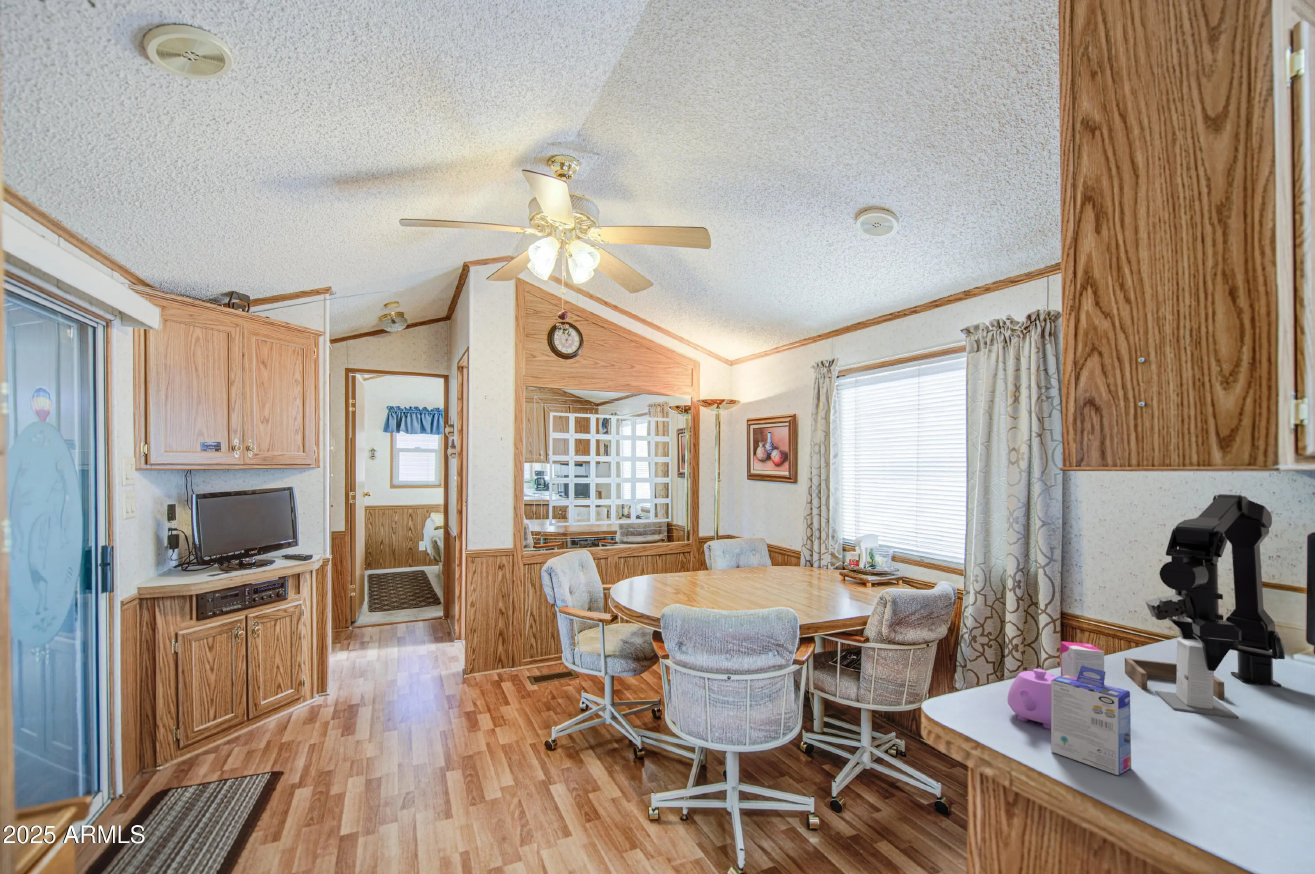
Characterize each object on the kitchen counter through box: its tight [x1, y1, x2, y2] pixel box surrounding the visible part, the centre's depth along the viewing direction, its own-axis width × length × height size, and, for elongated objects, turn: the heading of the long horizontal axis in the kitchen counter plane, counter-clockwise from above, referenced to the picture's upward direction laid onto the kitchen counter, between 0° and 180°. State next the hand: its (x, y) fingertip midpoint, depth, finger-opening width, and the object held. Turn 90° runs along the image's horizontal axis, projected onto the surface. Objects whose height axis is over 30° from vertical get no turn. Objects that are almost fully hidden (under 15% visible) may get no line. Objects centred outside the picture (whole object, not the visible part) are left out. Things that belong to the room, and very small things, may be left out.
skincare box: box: [1175, 637, 1215, 709], centre depth 123 cm, size 6×4×12 cm
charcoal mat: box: [1154, 690, 1240, 719], centre depth 123 cm, size 10×10×1 cm
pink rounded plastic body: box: [1007, 668, 1058, 730], centre depth 114 cm, size 10×15×9 cm
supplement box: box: [1060, 641, 1105, 679], centre depth 123 cm, size 6×6×12 cm
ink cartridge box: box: [1050, 666, 1132, 776], centre depth 99 cm, size 10×6×14 cm, turn 36°
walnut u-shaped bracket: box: [1124, 657, 1226, 701], centre depth 133 cm, size 11×14×4 cm
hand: (1200, 663), depth 123 cm, fingers open, 9 cm apart
